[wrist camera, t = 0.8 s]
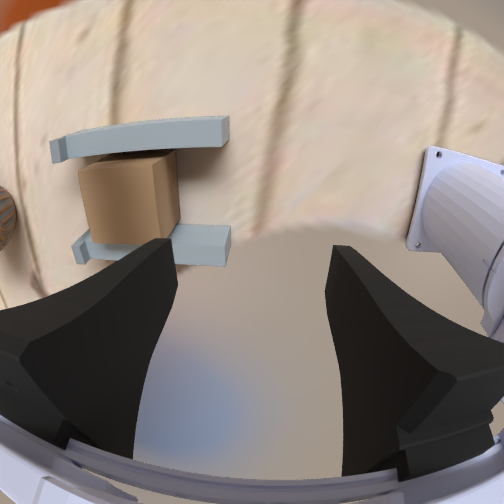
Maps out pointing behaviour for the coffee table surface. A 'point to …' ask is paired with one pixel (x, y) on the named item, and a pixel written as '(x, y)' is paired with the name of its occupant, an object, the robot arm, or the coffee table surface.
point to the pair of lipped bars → (147, 138)
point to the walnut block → (131, 197)
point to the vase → (6, 217)
